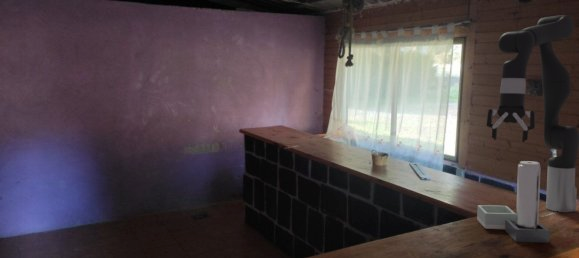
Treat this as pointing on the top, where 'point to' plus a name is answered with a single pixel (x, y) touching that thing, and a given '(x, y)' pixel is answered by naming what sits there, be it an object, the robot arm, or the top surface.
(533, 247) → the top surface
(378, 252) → the top surface
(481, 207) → the white open box
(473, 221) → the top surface
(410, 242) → the top surface
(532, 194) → the air filter
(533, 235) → the socket
